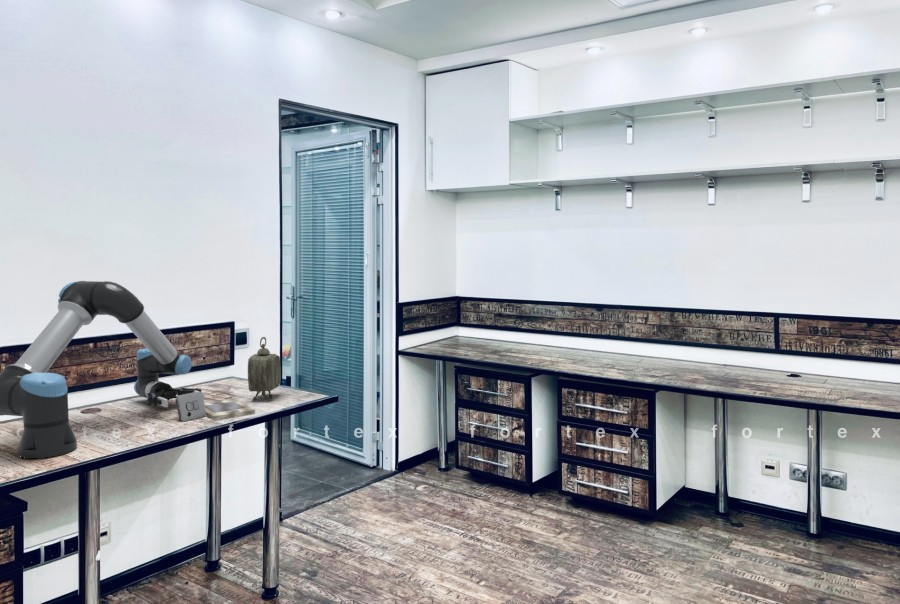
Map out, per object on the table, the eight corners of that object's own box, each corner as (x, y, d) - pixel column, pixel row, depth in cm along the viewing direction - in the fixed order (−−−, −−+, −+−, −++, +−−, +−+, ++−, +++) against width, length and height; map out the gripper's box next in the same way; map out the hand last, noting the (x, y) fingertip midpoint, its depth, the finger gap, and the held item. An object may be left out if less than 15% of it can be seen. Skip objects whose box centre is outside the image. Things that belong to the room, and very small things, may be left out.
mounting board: (213, 420, 230) (213, 415, 229) (195, 408, 247) (195, 404, 247) (255, 413, 239) (255, 409, 238) (234, 402, 256) (234, 398, 256)
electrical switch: (182, 422, 228) (180, 396, 228) (175, 421, 231) (172, 395, 231) (207, 416, 235) (204, 391, 235) (199, 415, 239) (197, 390, 238)
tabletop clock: (260, 394, 270) (258, 334, 268) (282, 394, 270) (280, 334, 268) (248, 402, 256) (246, 339, 254) (271, 402, 255) (269, 339, 253)
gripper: (191, 395, 260) (217, 403, 246) (126, 407, 242) (151, 416, 227) (190, 377, 259) (216, 384, 245) (125, 387, 241) (150, 395, 227)
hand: (185, 399), depth 236 cm, fingers open, 13 cm apart
